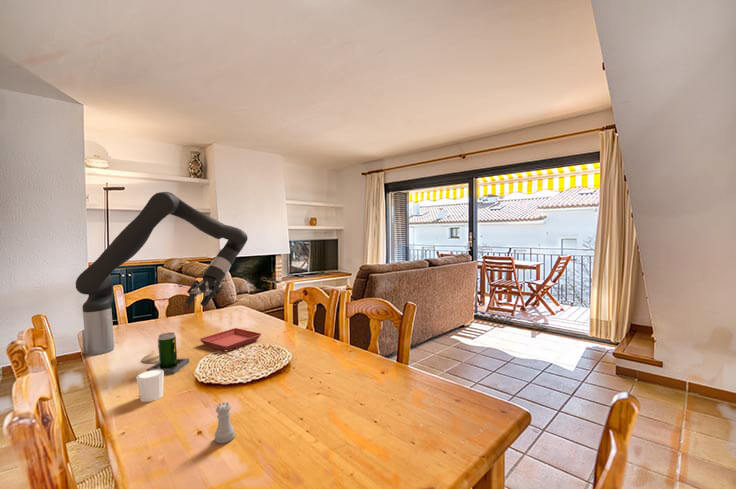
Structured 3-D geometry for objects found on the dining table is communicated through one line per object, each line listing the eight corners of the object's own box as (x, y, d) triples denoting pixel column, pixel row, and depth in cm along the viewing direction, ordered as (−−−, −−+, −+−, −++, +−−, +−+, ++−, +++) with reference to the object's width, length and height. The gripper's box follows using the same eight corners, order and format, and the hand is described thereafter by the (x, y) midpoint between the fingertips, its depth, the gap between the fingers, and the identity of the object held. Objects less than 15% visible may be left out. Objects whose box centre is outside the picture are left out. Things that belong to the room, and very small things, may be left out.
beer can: (160, 372, 120) (158, 338, 120) (159, 367, 125) (157, 334, 124) (178, 368, 123) (176, 334, 123) (176, 363, 128) (174, 331, 127)
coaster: (135, 363, 129) (135, 361, 129) (154, 352, 140) (154, 351, 140) (164, 363, 129) (164, 361, 129) (181, 352, 140) (181, 350, 140)
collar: (146, 373, 119) (146, 369, 119) (164, 362, 129) (163, 358, 129) (174, 373, 119) (173, 369, 119) (189, 362, 128) (189, 358, 128)
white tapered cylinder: (170, 393, 105) (169, 370, 104) (149, 404, 98) (148, 380, 98) (153, 390, 107) (152, 367, 107) (131, 401, 101) (130, 377, 100)
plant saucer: (262, 340, 152) (262, 333, 152) (226, 354, 137) (225, 345, 137) (235, 334, 162) (235, 327, 162) (198, 346, 147) (198, 339, 146)
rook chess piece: (218, 433, 83) (216, 400, 83) (237, 432, 84) (235, 399, 83) (211, 445, 79) (209, 410, 78) (232, 443, 79) (230, 409, 79)
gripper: (199, 264, 144) (175, 298, 134) (224, 265, 137) (201, 300, 128) (210, 275, 149) (188, 308, 139) (235, 276, 142) (214, 311, 133)
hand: (194, 304), depth 133 cm, fingers open, 8 cm apart
